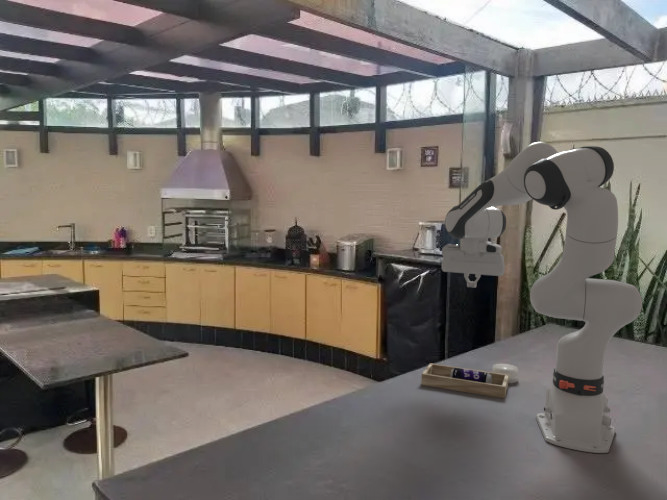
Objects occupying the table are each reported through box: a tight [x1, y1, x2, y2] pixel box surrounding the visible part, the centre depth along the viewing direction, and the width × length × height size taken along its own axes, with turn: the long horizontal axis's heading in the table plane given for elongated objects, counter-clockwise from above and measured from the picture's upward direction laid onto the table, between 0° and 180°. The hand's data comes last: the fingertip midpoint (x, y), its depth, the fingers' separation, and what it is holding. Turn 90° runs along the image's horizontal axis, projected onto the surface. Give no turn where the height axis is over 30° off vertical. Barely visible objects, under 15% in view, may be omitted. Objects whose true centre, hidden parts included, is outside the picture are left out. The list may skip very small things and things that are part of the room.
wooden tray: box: [420, 362, 509, 399], centre depth 165 cm, size 12×25×4 cm, turn 67°
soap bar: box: [492, 363, 519, 384], centre depth 171 cm, size 8×8×4 cm
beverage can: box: [450, 367, 492, 384], centre depth 162 cm, size 6×6×12 cm
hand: (471, 287), depth 174 cm, fingers closed
